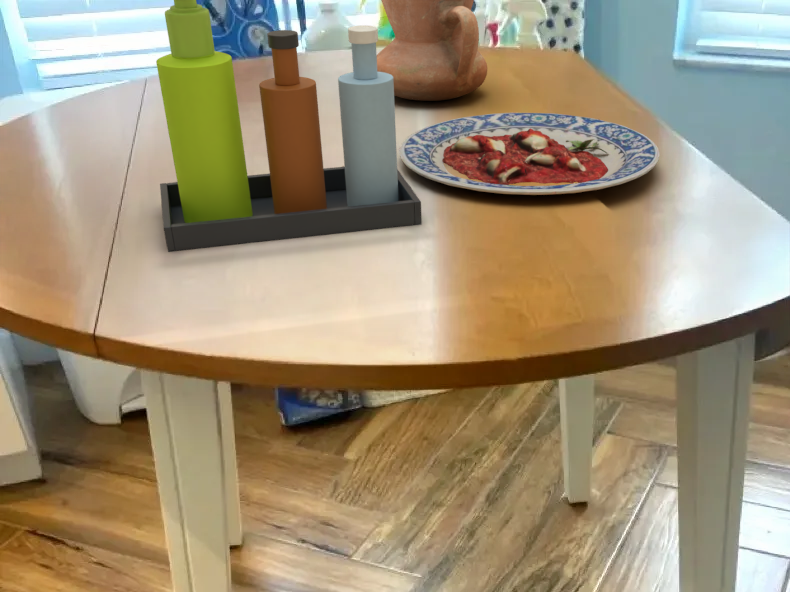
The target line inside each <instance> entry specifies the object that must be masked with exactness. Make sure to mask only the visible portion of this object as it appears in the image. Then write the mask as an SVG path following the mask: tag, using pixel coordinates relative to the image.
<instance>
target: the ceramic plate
mask: <svg viewBox="0 0 790 592" xmlns="http://www.w3.org/2000/svg"><path fill="white" fill-rule="evenodd" d="M398 152H399V157H400V160H401V161H402V163H403V164H404V165H405V166H406V167H407V168H408V169H410V170H411V171H413V172H414V173H416V174H418V175H419V176H421V177H424V178H426V179H428V180H432V181H434V182H437V183H441V184H444V185H447V186H450V187H455V188H460V189H467V190H471V191H476V192H485V193H494V194H503V195H524V196H537V195H538V196H542V195H543V196H545V195H546V196H547V195H549V196H550V195H562V194H563V195H565V194H576V193H582V192H584V193H585V192H591V191H597V190H603V189H608V188H611V187H615V186H620V185H623V184H626V183H628V182H631V181H633V180H637V179H639V178H640V177H642V176H644V175H646V174H648V173H649V172H650V171H651V170H653V169H654V168H655V166H656V165H657V164H658V162H659V159H660V155H661V154H660V150H659V147H658V146H657V144H656V142H654V141H653V140H651V139H650V138H649V137H648V136H646V135H645V134H644V133H641V132H639V131H637V130H634V129H632V128H629V127H627V126H625V125H623V124H622V125H621V124H619V123H615V122H611V121H606V120H601V119H599V118H594V117H587V116H579V115H571V114H564V113H563V114H562V113H550V112H549V113H547V112H498V113H497V112H496V113H488V114H487V113H486V114H478V115H470V116H463V117H459V118H453V119H448V120H445V121H441V122H437V123H434V124H431V125H428V126H425V127H423V128H421V129H419V130H416V131H415V132H413V133H411V134H410V135H408V136H407V137H406V138H405V139H404V140H403V141H402V143H401V144H400V146H399V149H398ZM444 164H445V165H448V166H449V167H451V168H452V169H453V170H454V171H456V172H457V173H459V174H460V175H464V176H466V178H463V177H459V176H456V175H454V174H452V173H451V172H449V171H448V170H447V168H446V167H445V165H444ZM521 183H538V184H544V185H517V184H521ZM562 183H564V184H562ZM545 184H554V185H545ZM555 184H557V185H555Z"/></svg>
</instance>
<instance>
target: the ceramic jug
mask: <svg viewBox="0 0 790 592" xmlns="http://www.w3.org/2000/svg"><path fill="white" fill-rule="evenodd" d="M474 2H475V1H474V0H381V3H382V6H383V9H384V12H385V15H386V17H387V20H388V22H389V25H390V26H391V29H392V32H393V33H394V38H393V40H392V41H391V42H389V44H388V45H386V46H385V47H384V48H383V49H381V50H380V51H379V52H378V53H376V54H377V72H384V73H388V74H391V75H392V76H393V82H394V97H398V98H401V99H403V100H404V99H405V100H410V101H420V102H421V101H422V102H438V101H439V102H440V101H447V100H452V99H457V98H460V97H463V96H465V95H469V94H470V93H473V92H474V91H476V90H478V88H480V87H481V86H482V85H483V84H484V82H485V81H486V79H487V75H488V64H487V61H486V58H485V57H484V55H483V54H482V52H480V51H479V50H478V49H479V45H480V29H479V24H478V20H477V19H478V18H477V16H476V14H474V12H473V11H472V8H473V5H474Z"/></svg>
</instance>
